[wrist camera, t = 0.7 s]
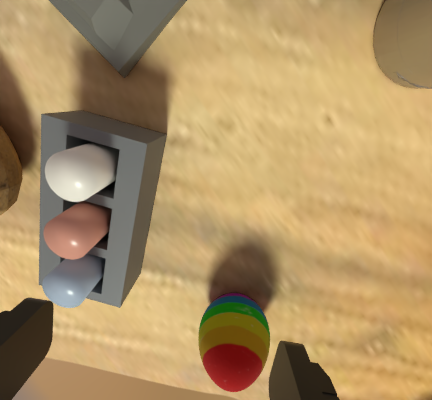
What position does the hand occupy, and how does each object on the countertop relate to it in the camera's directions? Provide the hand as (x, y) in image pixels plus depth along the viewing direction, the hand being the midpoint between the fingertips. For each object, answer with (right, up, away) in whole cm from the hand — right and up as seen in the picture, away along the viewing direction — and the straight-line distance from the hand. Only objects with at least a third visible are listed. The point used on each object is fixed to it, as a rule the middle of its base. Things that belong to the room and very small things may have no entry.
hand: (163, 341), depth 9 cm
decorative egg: (+4, -9, +26) cm, 28 cm away
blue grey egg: (-12, -1, +21) cm, 24 cm away
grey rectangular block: (-10, +5, +22) cm, 24 cm away
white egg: (-9, +9, +17) cm, 21 cm away
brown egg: (-10, +4, +19) cm, 22 cm away
